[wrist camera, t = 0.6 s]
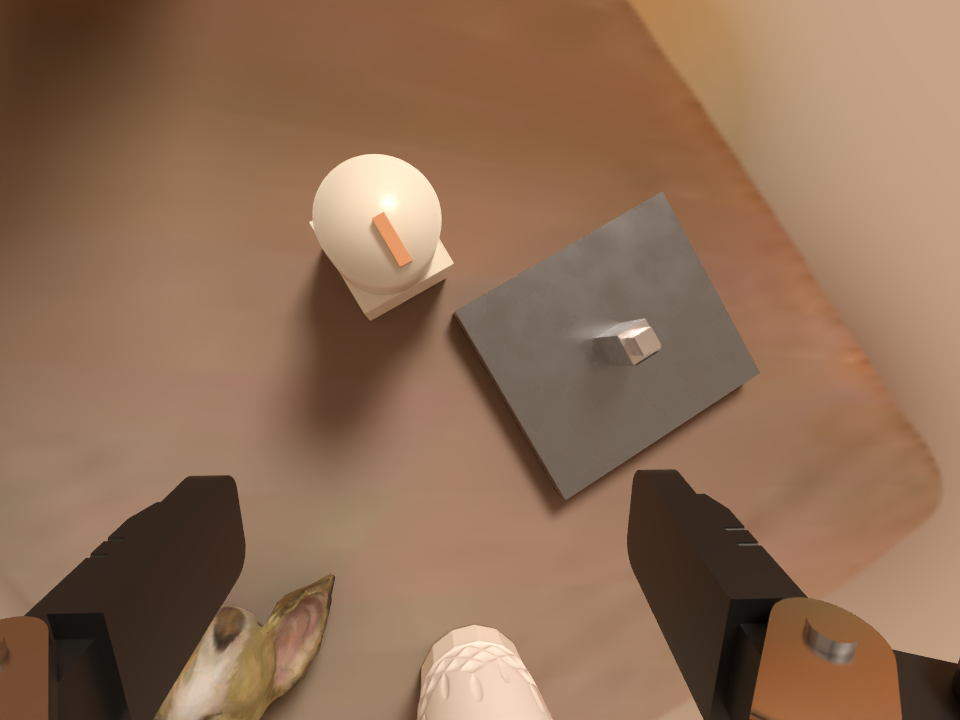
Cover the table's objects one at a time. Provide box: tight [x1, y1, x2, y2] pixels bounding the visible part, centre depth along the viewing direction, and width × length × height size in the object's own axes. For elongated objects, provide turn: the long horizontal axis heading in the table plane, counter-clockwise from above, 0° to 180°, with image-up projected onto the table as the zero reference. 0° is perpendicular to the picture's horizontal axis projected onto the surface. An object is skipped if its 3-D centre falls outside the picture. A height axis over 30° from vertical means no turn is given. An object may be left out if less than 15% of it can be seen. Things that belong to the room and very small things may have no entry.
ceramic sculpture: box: [153, 574, 335, 720], centre depth 27 cm, size 11×9×15 cm
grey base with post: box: [453, 191, 760, 500], centre depth 31 cm, size 14×16×6 cm
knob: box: [309, 154, 454, 321], centre depth 27 cm, size 6×6×10 cm
